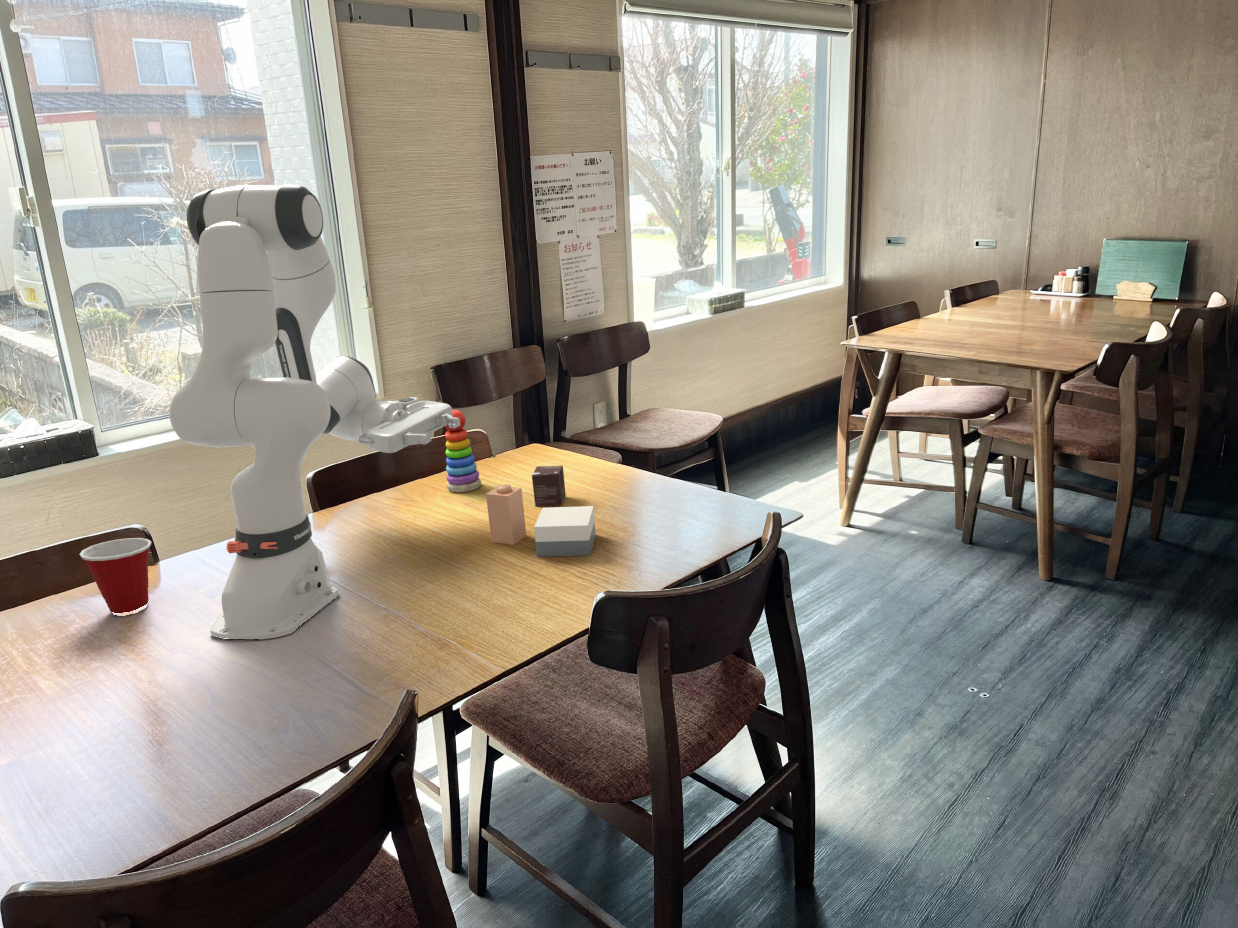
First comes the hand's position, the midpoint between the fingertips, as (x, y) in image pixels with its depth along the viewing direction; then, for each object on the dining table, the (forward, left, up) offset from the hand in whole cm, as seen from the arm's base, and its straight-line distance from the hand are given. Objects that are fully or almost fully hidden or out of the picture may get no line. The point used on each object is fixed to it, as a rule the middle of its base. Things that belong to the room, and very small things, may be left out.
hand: (443, 431), depth 175 cm
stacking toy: (+27, +5, -21) cm, 35 cm away
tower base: (-9, -24, -21) cm, 33 cm away
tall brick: (-4, -12, -21) cm, 25 cm away
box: (+16, -17, -22) cm, 32 cm away
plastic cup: (-32, +50, -21) cm, 63 cm away
